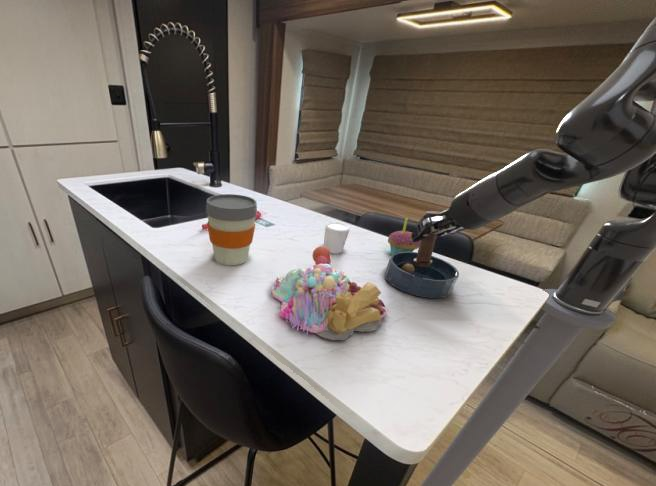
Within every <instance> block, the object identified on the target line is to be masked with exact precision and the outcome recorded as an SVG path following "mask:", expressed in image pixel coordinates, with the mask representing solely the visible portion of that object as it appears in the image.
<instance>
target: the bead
mask: <svg viewBox="0 0 656 486" xmlns="http://www.w3.org/2000/svg"><path fill="white" fill-rule="evenodd" d="M401 269H402V270H403V271H405V272H408V273H410V274H412V273H413V272H414V266H413V265H412V264H409V263H407V264H404V265H403V266H402V268H401Z"/></svg>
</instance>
